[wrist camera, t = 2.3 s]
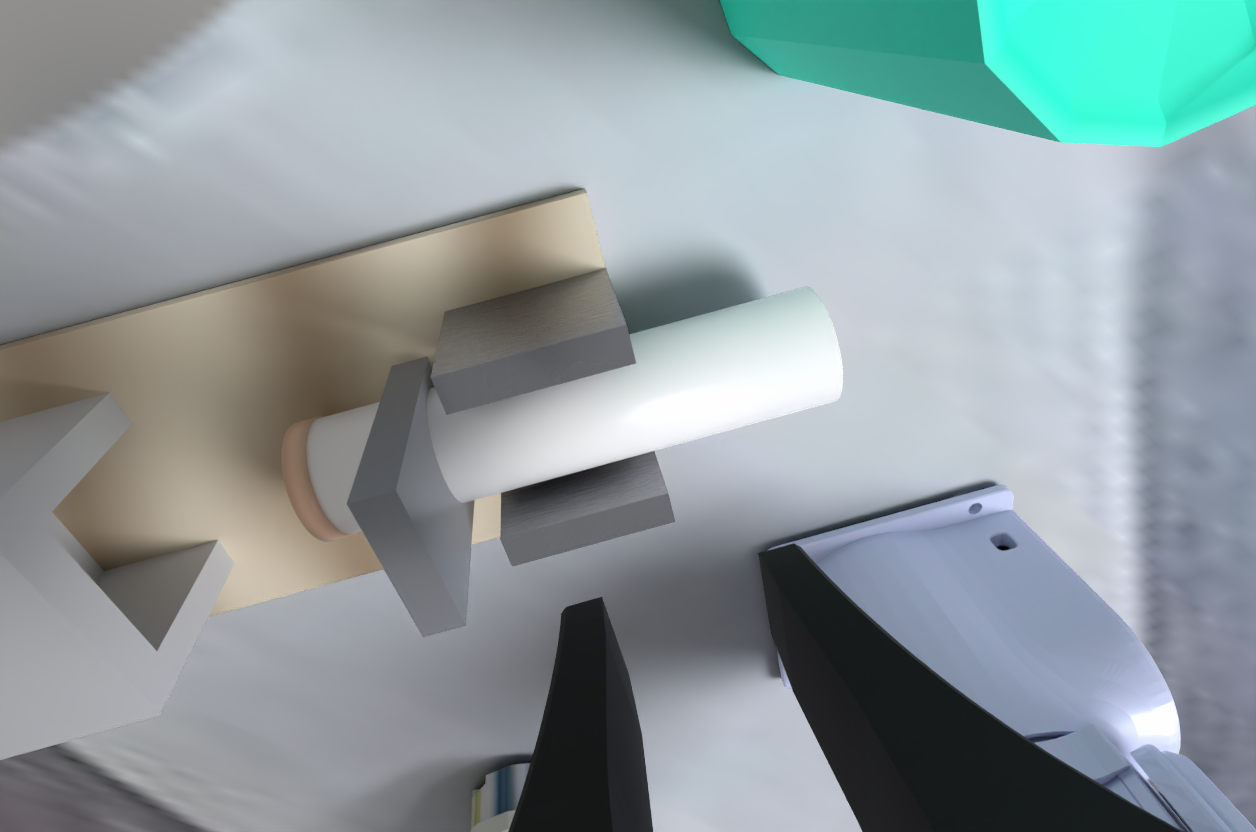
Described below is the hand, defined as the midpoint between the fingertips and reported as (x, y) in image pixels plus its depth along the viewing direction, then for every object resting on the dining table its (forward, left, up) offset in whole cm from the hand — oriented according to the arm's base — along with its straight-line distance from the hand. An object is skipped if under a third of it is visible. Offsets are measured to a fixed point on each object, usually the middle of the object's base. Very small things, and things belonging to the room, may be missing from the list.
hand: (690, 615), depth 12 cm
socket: (+15, 0, -10) cm, 19 cm away
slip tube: (+2, 0, -10) cm, 10 cm away
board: (+9, 0, -10) cm, 13 cm away
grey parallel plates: (+2, 0, -10) cm, 11 cm away
